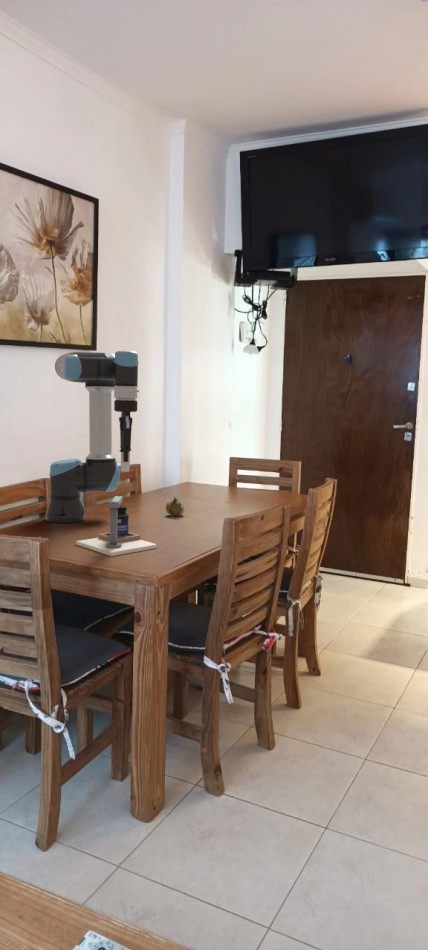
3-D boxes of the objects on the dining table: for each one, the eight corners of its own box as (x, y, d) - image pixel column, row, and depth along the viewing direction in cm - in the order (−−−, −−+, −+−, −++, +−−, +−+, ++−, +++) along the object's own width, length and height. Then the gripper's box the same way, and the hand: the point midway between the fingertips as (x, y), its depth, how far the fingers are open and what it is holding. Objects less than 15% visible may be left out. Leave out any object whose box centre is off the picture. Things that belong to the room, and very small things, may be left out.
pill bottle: (112, 541, 234) (112, 508, 233) (108, 537, 240) (108, 505, 238) (130, 539, 236) (130, 507, 235) (125, 536, 242) (125, 504, 241)
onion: (188, 515, 290) (188, 496, 289) (177, 518, 283) (177, 498, 282) (173, 513, 294) (173, 494, 293) (162, 515, 287) (162, 496, 286)
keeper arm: (118, 508, 223) (118, 502, 223) (107, 508, 223) (107, 502, 223) (124, 500, 238) (124, 495, 237) (113, 500, 238) (113, 495, 237)
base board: (76, 544, 233) (76, 503, 231) (120, 537, 246) (120, 498, 244) (111, 556, 219) (111, 512, 217) (156, 547, 231) (157, 506, 229)
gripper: (140, 400, 224) (139, 474, 227) (134, 398, 236) (134, 468, 240) (116, 400, 222) (115, 474, 225) (112, 398, 234) (111, 468, 238)
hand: (125, 471), depth 232 cm, fingers closed
